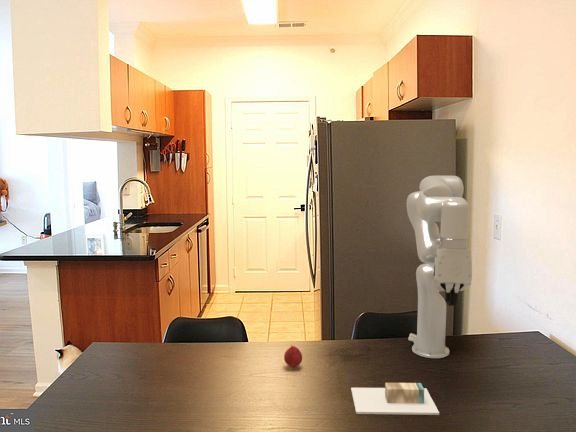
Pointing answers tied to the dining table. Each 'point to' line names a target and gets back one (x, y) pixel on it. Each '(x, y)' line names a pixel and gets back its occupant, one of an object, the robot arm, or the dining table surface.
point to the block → (404, 393)
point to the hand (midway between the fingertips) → (450, 304)
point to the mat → (377, 403)
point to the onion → (293, 356)
